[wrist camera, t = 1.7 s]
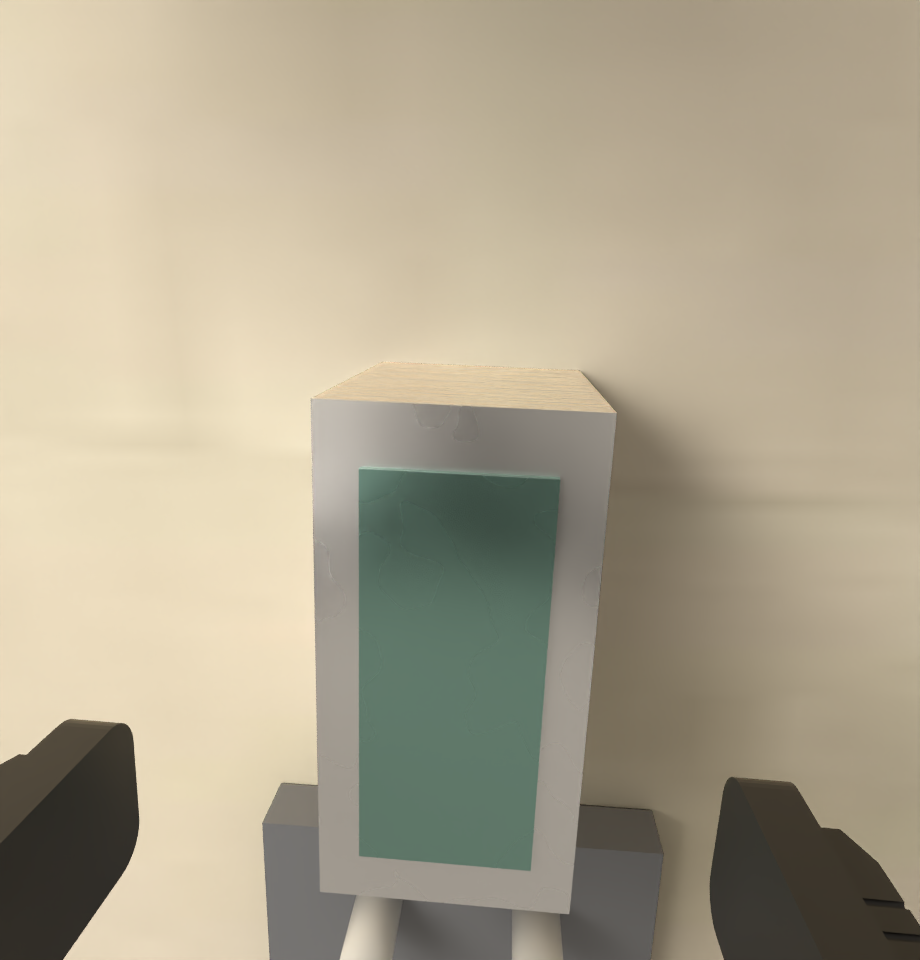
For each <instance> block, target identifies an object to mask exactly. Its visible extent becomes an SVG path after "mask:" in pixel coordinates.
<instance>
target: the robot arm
mask: <svg viewBox="0 0 920 960" xmlns="http://www.w3.org/2000/svg"><path fill="white" fill-rule="evenodd" d="M138 830H139V810H138V796H137V783H136V769H135V756H134V742H133V735H132V732H131V730H130V728H129V727H128V725H126V724H123V723H111V722H100V721H88V720H76V719H69V720H66V721H64V722H63V723H61V724H60V725H59V726H58V727H57V728H55V729H54V730H53V731H52V732H51V733H50V734H49V735H48V736H47V737H46V738H44V739H43V740H42V741H41V742H40V743H39V744H38V745H37V746H36V747H35V748H33V749H32V750H31V751H30V752H29V753H28V754H27V755H21V754H19V755H17V756H15V757H14V758H12V759H10V760H8V761H6V762H4V763H2V764H1V765H0V960H63V959H64V957H65V956H66V955H67V953H68V952H69V950H70V949H71V947H72V946H73V944H74V943H75V942H76V940H77V939H78V937H79V936H80V934H81V933H82V932H83V930H84V929H85V927H86V926H87V924H88V923H89V921H90V920H91V919H92V917H93V916H94V914H95V913H96V911H97V910H98V909H99V907H100V906H101V904H102V903H103V901H104V900H105V898H106V897H107V896H108V894H109V893H110V891H111V890H112V888H113V887H114V886H115V884H116V883H117V881H118V880H119V878H120V877H121V876H122V874H123V872H124V871H125V869H126V867H127V865H128V864H129V861H130V859H131V857H132V854H133V851H134V848H135V845H136V841H137V836H138ZM710 904H711V913H712V919H713V924H714V929H715V932H716V936H717V939H718V942H719V945H720V948H721V951H722V954H723V958H724V960H920V925H919V924H918V922H917V921H916V919H915V918H914V916H913V915H912V913H911V912H910V910H906V909H905V907H904V901H903V899H902V898H901V896H900V895H899V893H898V892H897V890H896V889H895V887H894V886H893V884H892V883H891V881H890V880H889V878H888V877H887V875H886V874H885V872H884V871H883V869H882V868H881V866H880V865H879V863H878V862H877V861H876V860H874V859H873V858H872V857H871V856H870V855H869V854H868V853H866V852H865V851H864V850H863V849H862V848H861V847H860V846H858V845H857V844H856V843H855V842H854V841H853V840H852V839H850V838H849V837H848V836H847V835H846V834H845V833H843V832H842V831H841V830H840V829H830V828H820V826H819V824H818V823H817V821H816V819H815V817H814V816H813V814H812V812H811V811H810V809H809V807H808V806H807V804H806V802H805V801H804V799H803V797H802V796H801V794H800V792H799V791H798V789H797V788H796V786H795V785H794V784H792V783H791V782H782V781H771V780H759V779H747V778H735V777H730V778H729V779H728V780H727V782H726V784H725V787H724V791H723V797H722V803H721V810H720V816H719V823H718V829H717V836H716V842H715V849H714V855H713V862H712V868H711V876H710Z"/></svg>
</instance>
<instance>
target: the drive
mask: <svg viewBox="0 0 920 960" xmlns="http://www.w3.org/2000/svg"><path fill="white" fill-rule="evenodd" d="M616 418H617V413H616V411H615V410H614V409H613V408H612V407H611V406H610V405H609V403H608V402H607V401H606V400H605V399H604V398H603V397H602V395H601V394H600V393H599V392H598V391H597V390H596V389H595V388H594V386H593V385H592V384H591V383H590V382H589V381H588V380H587V378H586V377H585V376H584V375H583V374H582V373H581V372H580V370H558V369H536V368H513V367H490V366H468V365H445V364H422V363H400V362H381V363H379V364H377V365H375V366H373V367H371V368H369V369H367V370H365V371H363V372H361V373H359V374H357V375H355V376H353V377H351V378H350V379H348V380H346V381H344V382H342V383H340V384H338V385H336V386H334V387H332V388H330V389H328V390H326V391H324V392H322V393H321V394H319V395H317V396H315V397H313V398H311V436H312V489H313V543H314V597H315V651H316V704H317V758H318V812H319V866H320V892H328V893H339V894H350V895H361V896H372V897H383V898H394V899H405V900H416V901H427V902H438V903H449V904H460V905H471V906H482V907H493V908H505V909H516V910H527V911H538V912H549V913H560V914H569V912H570V902H571V891H572V881H573V870H574V860H575V849H576V838H577V828H578V817H579V807H580V796H581V786H582V775H583V765H584V754H585V744H586V733H587V723H588V712H589V702H590V691H591V681H592V670H593V660H594V649H595V639H596V628H597V618H598V607H599V597H600V586H601V576H602V565H603V555H604V544H605V534H606V523H607V513H608V502H609V492H610V481H611V471H612V460H613V450H614V439H615V429H616Z"/></svg>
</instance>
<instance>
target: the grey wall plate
mask: <svg viewBox="0 0 920 960" xmlns="http://www.w3.org/2000/svg"><path fill="white" fill-rule="evenodd" d="M262 824H263V843H264V861H265V880H266V898H267V917H268V935H269V954H270V960H651V952H652V944H653V935H654V927H655V919H656V911H657V903H658V895H659V887H660V879H661V871H662V863H663V855H664V854H663V850H662V846H661V843H660V839H659V835H658V832H657V828H656V824H655V820H654V817H653V813H652V810H638V809H625V808H611V807H598V806H584V805H580V807H579V817H578V828H577V838H576V849H575V860H574V870H573V881H572V891H571V902H570V912H569V914H560V913H549V912H538V911H527V910H516V909H505V908H493V907H482V906H471V905H460V904H449V903H438V902H427V901H416V900H405V899H394V898H383V897H372V896H361V895H350V894H339V893H328V892H320V866H319V812H318V786H313V785H300V784H286V783H281V785H280V787H279V789H278V791H277V793H276V795H275V797H274V800H273V802H272V804H271V806H270V808H269V810H268V812H267V814H266V816H265V819H264V821H263V823H262Z"/></svg>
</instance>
